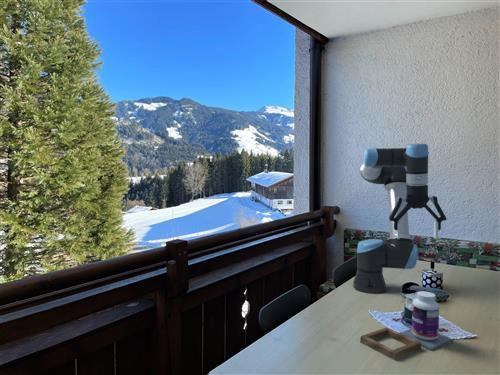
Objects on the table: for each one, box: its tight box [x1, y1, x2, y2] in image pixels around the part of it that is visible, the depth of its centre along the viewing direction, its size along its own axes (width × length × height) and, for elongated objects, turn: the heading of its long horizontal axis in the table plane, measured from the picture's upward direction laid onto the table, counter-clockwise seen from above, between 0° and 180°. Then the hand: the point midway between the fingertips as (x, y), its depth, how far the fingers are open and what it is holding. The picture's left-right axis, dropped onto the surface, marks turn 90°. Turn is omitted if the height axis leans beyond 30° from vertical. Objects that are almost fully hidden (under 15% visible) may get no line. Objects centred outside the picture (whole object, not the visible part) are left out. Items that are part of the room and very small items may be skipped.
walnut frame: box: [359, 327, 422, 361], centre depth 115 cm, size 13×13×2 cm
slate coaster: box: [400, 328, 454, 352], centre depth 119 cm, size 12×12×1 cm
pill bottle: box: [411, 290, 440, 340], centre depth 119 cm, size 8×8×14 cm
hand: (416, 238), depth 139 cm, fingers open, 13 cm apart
